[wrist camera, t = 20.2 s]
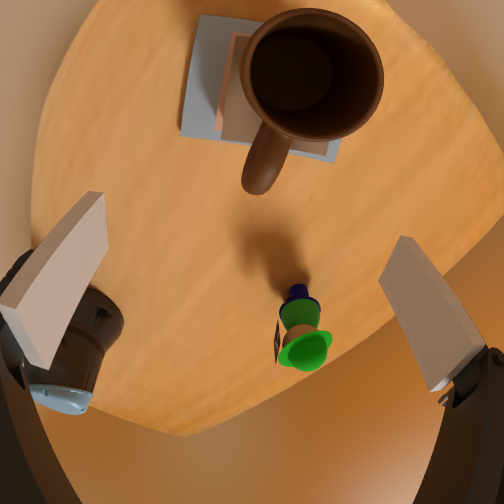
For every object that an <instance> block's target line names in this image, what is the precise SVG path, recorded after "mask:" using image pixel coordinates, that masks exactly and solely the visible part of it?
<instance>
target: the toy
mask: <svg viewBox="0 0 504 504" xmlns="http://www.w3.org/2000/svg"><path fill="white" fill-rule="evenodd" d="M289 294H290V298H288V299H287V300H286V302H284V303H283V304H282V306H281V307H280V310H279V315H280V319H281V320H282V322H283V325H284V327H285V329H286V330H287V331H288V332H287V333H286V335H285V336H284V339H283V343H282V348H283V349H282V350H281V352H280V354H279V356H278V351H279V347H280V333H279V323H278V321H277V327H276V333H275V338H274V351H275V363H276V361H277V356H278V361H279V363H280V364H281V365H283V366H287V367H295V368H297V369H298V370H301V371H313V370H316V369H318V368H319V367H320V366H321V365H322V364H323V363H324V361H325V360H326V357H327V349H328V348H329V347H330V345H331V343H332V335H331V334H330V333H329V332H327V331H318V330H317V327H318V324H319V320H320V311H321V309H320V305H319V303H318V301H317V300H316V299H314V298H312V297H309V294H308V289H307V287H306V286H305V285H303V284H296V285H293V286H292V287H291V288H290V290H289Z"/></svg>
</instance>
